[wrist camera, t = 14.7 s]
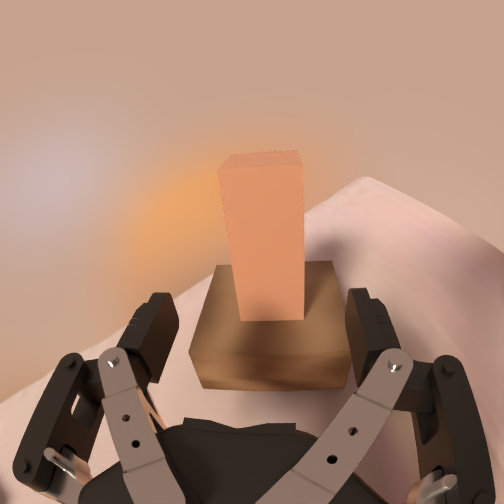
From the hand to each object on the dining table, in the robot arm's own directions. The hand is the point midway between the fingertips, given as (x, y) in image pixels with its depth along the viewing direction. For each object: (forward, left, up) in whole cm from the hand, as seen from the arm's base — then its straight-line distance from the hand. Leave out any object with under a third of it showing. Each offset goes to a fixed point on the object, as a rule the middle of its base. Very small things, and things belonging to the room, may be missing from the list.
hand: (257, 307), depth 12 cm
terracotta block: (0, -10, -7) cm, 12 cm away
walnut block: (0, -10, -12) cm, 16 cm away
